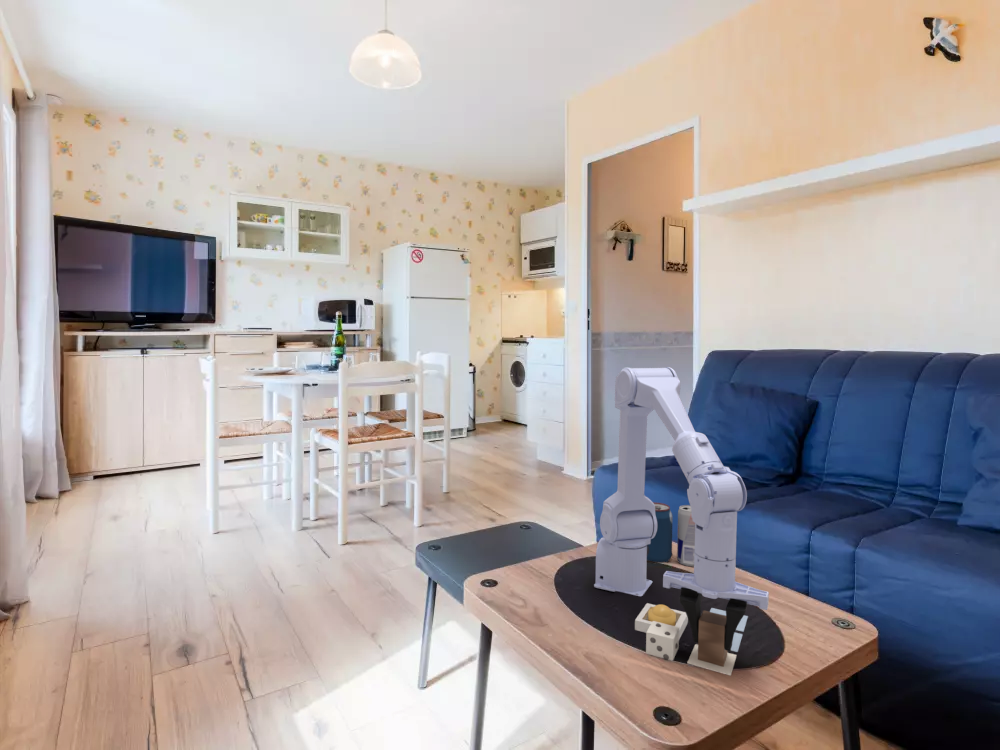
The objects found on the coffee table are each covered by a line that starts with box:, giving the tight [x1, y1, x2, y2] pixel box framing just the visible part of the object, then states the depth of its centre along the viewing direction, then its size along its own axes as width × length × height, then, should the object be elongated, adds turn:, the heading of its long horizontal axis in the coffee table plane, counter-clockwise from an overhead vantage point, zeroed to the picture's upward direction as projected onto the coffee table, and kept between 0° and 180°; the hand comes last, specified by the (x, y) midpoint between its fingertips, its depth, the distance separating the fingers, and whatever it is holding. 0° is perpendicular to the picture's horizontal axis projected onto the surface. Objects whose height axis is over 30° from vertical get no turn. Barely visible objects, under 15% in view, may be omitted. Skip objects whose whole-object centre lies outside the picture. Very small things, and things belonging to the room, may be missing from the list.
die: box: [645, 621, 680, 662], centre depth 85 cm, size 4×4×4 cm
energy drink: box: [676, 504, 695, 568], centre depth 121 cm, size 5×5×12 cm
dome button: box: [647, 604, 677, 626], centre depth 92 cm, size 4×4×4 cm
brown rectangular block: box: [697, 610, 729, 667], centre depth 83 cm, size 4×4×6 cm
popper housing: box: [634, 602, 689, 640], centre depth 93 cm, size 7×7×2 cm
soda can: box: [647, 501, 674, 563], centre depth 123 cm, size 7×7×12 cm
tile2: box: [686, 643, 737, 677], centre depth 83 cm, size 6×6×1 cm
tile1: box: [730, 632, 743, 653], centre depth 89 cm, size 6×6×1 cm
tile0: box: [709, 607, 749, 633], centre depth 95 cm, size 6×6×1 cm
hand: (712, 643), depth 83 cm, fingers open, 4 cm apart
